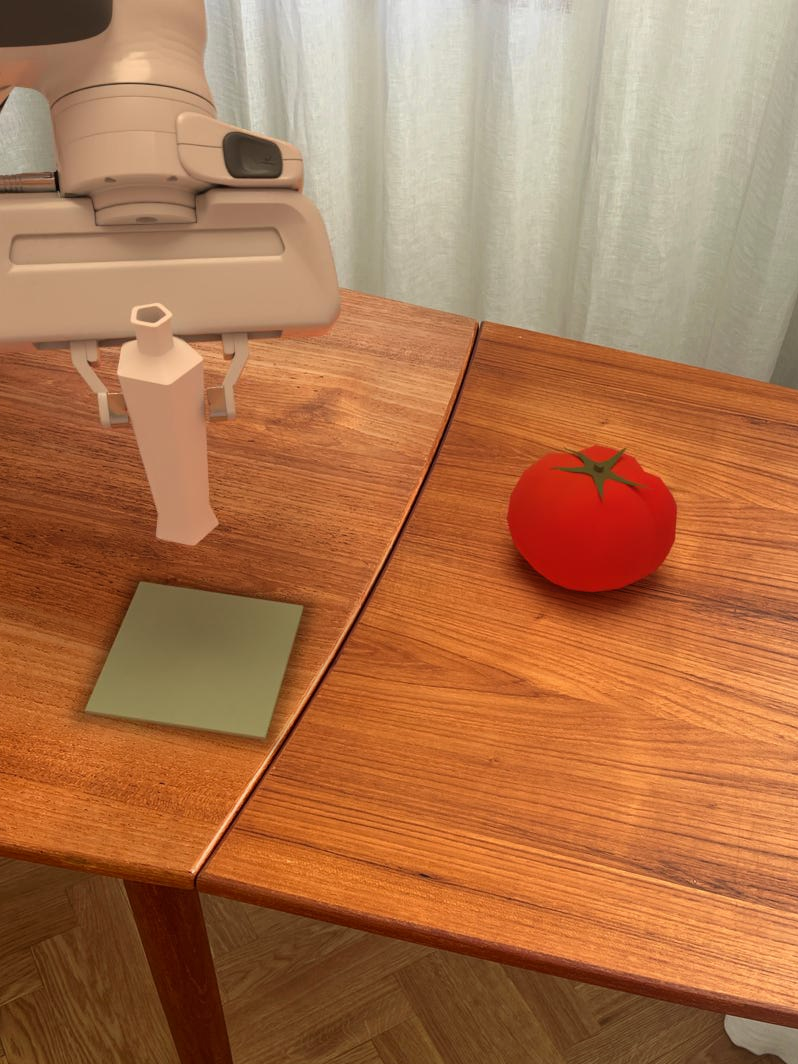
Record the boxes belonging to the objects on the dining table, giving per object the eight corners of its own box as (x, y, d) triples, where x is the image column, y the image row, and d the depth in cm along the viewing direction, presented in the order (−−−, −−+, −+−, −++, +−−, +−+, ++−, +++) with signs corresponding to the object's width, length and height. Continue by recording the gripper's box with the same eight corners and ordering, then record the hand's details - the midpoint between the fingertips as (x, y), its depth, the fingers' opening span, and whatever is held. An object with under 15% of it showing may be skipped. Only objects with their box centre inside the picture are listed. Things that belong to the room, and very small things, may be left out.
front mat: (85, 715, 76) (84, 710, 75) (140, 586, 84) (139, 580, 83) (265, 742, 76) (265, 737, 75) (303, 610, 84) (303, 605, 83)
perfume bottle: (131, 519, 71) (86, 308, 60) (193, 490, 73) (160, 282, 62) (171, 561, 69) (132, 351, 58) (233, 530, 71) (207, 322, 60)
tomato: (662, 629, 86) (694, 530, 79) (494, 605, 86) (510, 504, 78) (660, 527, 94) (690, 428, 86) (506, 506, 93) (522, 404, 86)
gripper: (-76, 154, 58) (-39, 430, 59) (329, 148, 62) (355, 405, 64) (-49, 193, 64) (-16, 443, 65) (318, 184, 69) (342, 418, 70)
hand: (170, 424), depth 65 cm, fingers closed on perfume bottle, 4 cm apart
